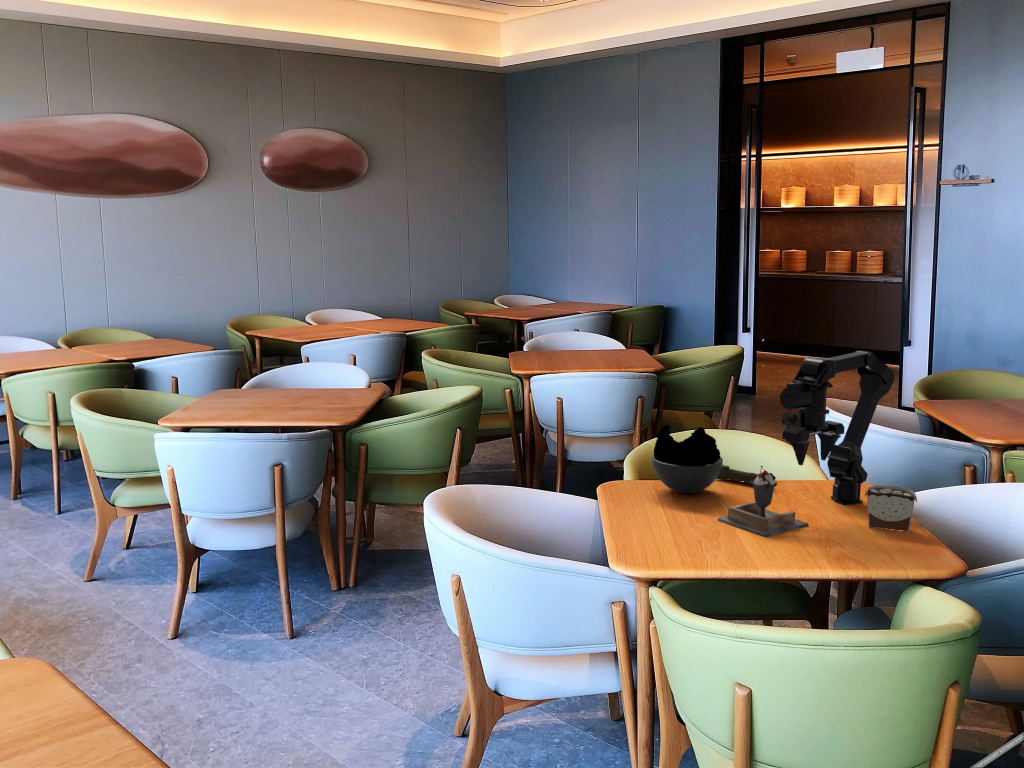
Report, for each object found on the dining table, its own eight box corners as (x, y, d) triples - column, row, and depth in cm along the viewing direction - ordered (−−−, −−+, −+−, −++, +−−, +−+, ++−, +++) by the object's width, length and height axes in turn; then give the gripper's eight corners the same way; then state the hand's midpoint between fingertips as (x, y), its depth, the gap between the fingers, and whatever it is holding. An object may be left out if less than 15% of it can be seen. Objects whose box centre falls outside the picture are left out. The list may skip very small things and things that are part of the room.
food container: (915, 526, 238) (918, 488, 236) (915, 533, 232) (917, 494, 231) (864, 519, 243) (866, 482, 241) (862, 526, 237) (864, 488, 236)
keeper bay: (759, 509, 252) (760, 496, 251) (808, 525, 239) (808, 511, 238) (717, 520, 243) (718, 506, 243) (765, 537, 230) (765, 523, 229)
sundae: (751, 524, 238) (754, 467, 235) (747, 516, 244) (749, 460, 242) (778, 524, 237) (780, 467, 235) (772, 516, 244) (775, 460, 241)
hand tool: (770, 487, 274) (771, 471, 273) (763, 490, 271) (764, 474, 270) (714, 475, 287) (715, 461, 286) (707, 478, 284) (707, 463, 283)
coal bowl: (736, 495, 266) (739, 430, 262) (682, 506, 255) (684, 439, 252) (689, 478, 282) (691, 417, 279) (637, 488, 272) (638, 425, 269)
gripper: (813, 397, 259) (810, 451, 261) (767, 404, 249) (764, 461, 251) (847, 403, 250) (843, 460, 252) (800, 411, 239) (797, 470, 242)
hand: (811, 462), depth 250 cm, fingers open, 9 cm apart
